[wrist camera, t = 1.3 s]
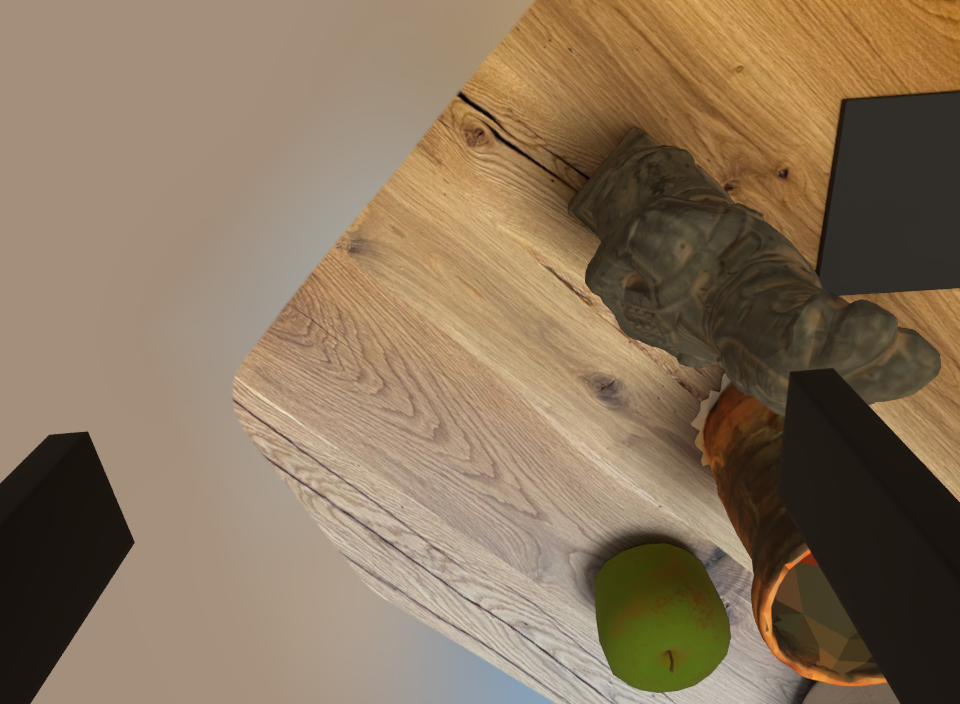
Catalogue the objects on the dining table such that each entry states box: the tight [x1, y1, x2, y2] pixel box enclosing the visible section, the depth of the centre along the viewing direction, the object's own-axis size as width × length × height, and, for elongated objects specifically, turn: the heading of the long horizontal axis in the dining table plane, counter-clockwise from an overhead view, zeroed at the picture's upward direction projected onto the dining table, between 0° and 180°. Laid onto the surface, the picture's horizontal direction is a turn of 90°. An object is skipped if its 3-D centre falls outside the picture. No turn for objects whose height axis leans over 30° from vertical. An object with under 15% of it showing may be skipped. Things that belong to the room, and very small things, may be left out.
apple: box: [595, 543, 731, 693], centre depth 61 cm, size 11×11×11 cm
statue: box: [568, 127, 941, 416], centre depth 37 cm, size 11×9×30 cm
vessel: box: [691, 372, 887, 686], centre depth 49 cm, size 14×14×20 cm
